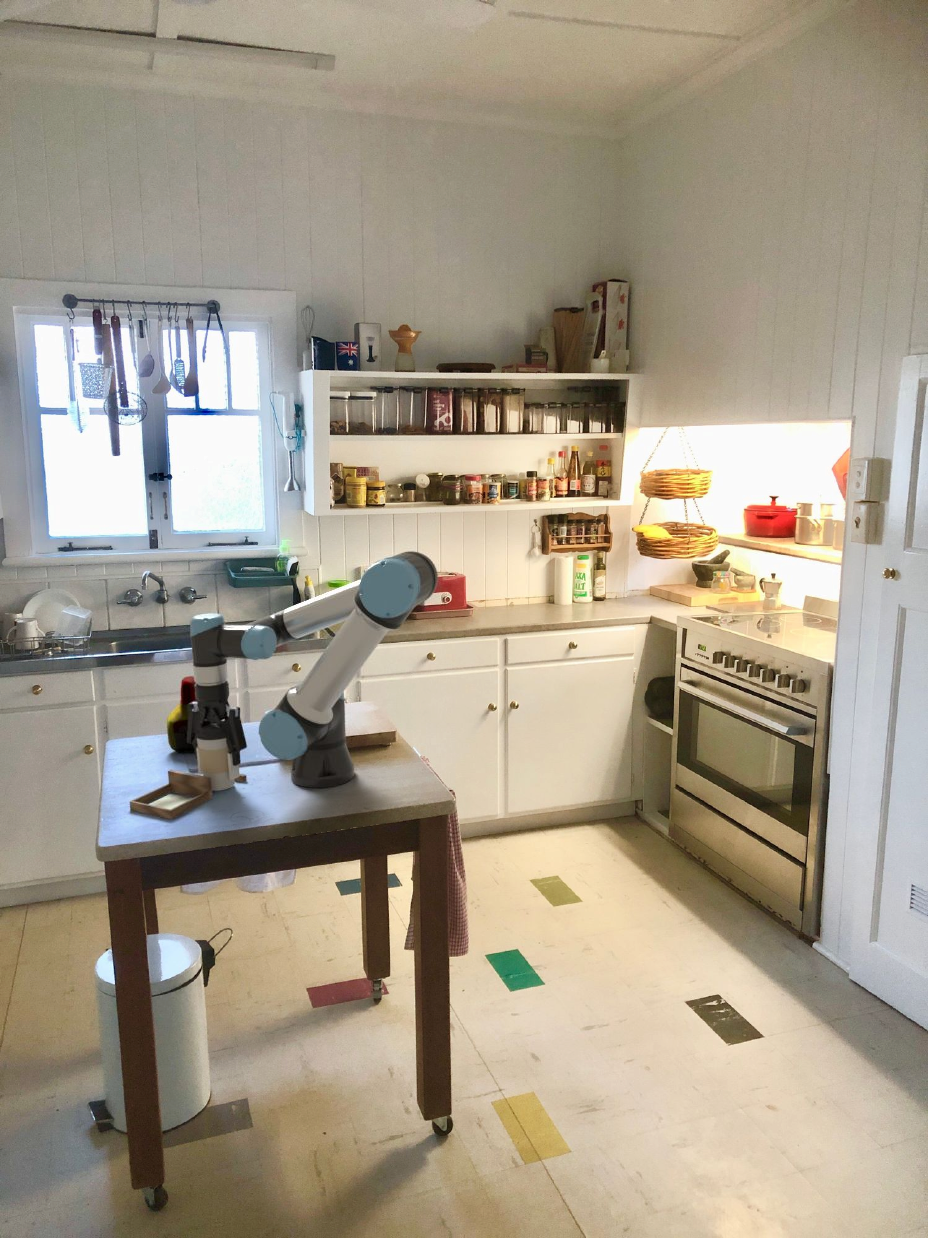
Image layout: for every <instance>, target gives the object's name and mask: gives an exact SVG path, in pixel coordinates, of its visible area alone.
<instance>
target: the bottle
mask: <svg viewBox="0 0 928 1238" xmlns="http://www.w3.org/2000/svg"><path fill="white" fill-rule="evenodd" d="M180 682H181V683H180V701H179V703H178V705H177V706H176V707H175V708H174V709H173V710H172V711H171V712H170V713H169V714H168V716H167V719H166V729H167V730H166V731H167V732H166V733H167V740H168V742H167V743H168V746H169V747H170V749H171V750H173V751H174V752H176V753H181V754H182V753H195V747H194V746H193V744H191V743H187V730H188V717H189V712H188V707H187V705H188V704H189V703H192V702H195V701H197V702H198V700H197V699H196V694H195V684H196V682H195V681H194V675H192V676H191V675H189V676H185V677H183V678H182V679H181V681H180ZM200 715H201V712H200ZM211 722H212V721H211ZM192 737H193V735H192Z"/></svg>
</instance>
